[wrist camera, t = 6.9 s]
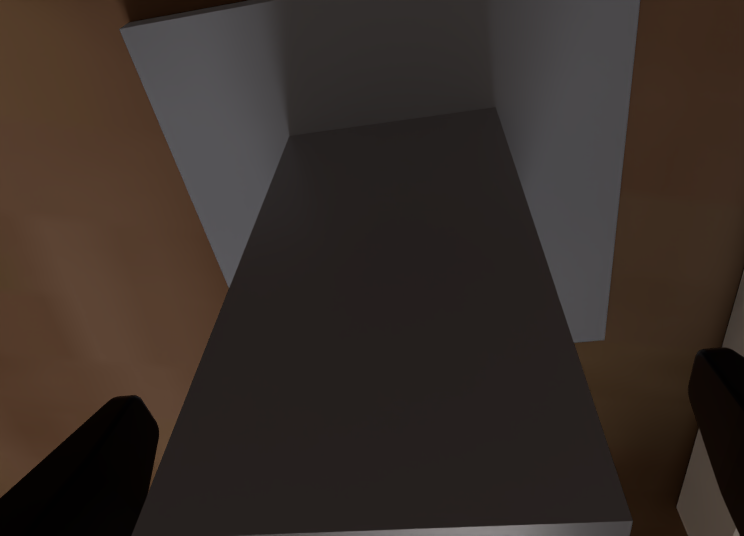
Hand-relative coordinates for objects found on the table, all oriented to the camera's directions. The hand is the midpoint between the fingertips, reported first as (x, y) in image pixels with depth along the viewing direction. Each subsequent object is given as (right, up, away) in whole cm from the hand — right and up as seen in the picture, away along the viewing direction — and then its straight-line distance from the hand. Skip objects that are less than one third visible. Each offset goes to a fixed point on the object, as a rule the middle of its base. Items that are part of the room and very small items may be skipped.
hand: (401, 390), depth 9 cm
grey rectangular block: (0, +3, +4) cm, 6 cm away
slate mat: (0, +4, +5) cm, 6 cm away
